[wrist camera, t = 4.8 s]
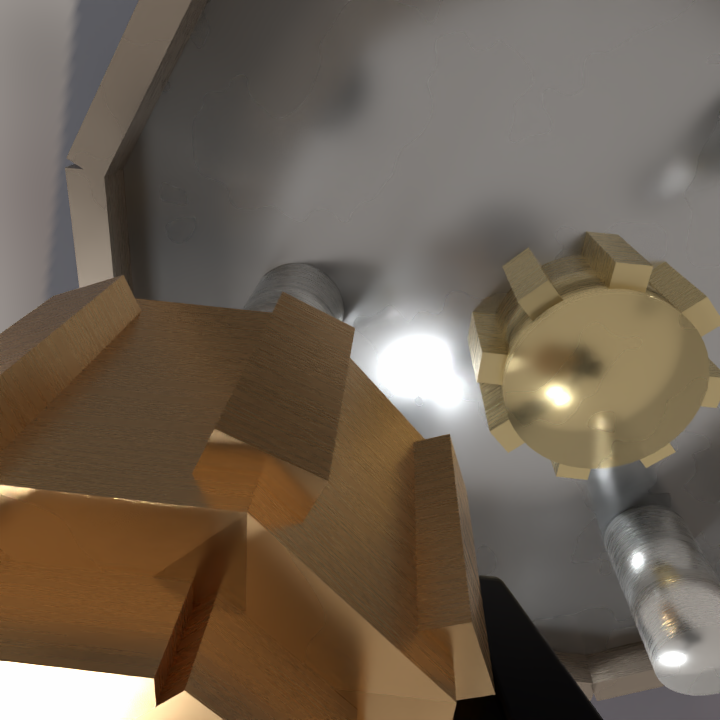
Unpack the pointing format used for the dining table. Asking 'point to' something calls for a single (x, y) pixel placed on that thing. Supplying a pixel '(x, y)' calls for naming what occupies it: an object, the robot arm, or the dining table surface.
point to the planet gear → (223, 523)
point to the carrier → (466, 263)
